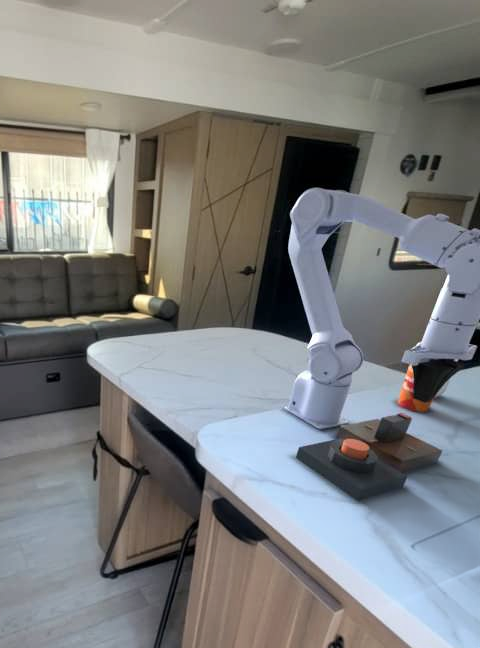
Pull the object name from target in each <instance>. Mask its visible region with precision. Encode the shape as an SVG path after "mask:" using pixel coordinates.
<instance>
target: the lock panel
mask: <svg viewBox="0 0 480 648" xmlns="http://www.w3.org/2000/svg"><path fill="white" fill-rule="evenodd" d="M380 421H381V419H379V418H374V419H369V420H363V421H359V422H354V423H348V424H346V425H341V426H339V428H338V431H337V434H336V439H339V438H342V439H344V440H346V439H355V440H359V441H362V442H364V443H366V444H367V445H368V446H369V448H370V450H372V451H373V452H374V453H375V454H376V455H377V456H378V459H379V460H380V461H382V462H384V463H385V464H387V465H389V466H391V467H392V468H394V469H396V470H398V471H399V472H401V473H403V472H406V471H410V470H415V469H417V468H423V467H425V466H429V465H433V464H436V463H438V461H439V459H440V457H441V455H442V453H443V450H442V449H440V448H438V447H436V446H434V445H432V444H430V443H428V442H426V441H424V440H422V439H420V438H418V437H416V436H414V435H411V434H410V433H408V432H406V434H405V437H404V438H402V439H397V440H393V441H388V442H383V441H381V440H379V439H377V438H376V437H375V434H376V431H377V429H378V426H379V424H380Z"/></svg>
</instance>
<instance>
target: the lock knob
mask: <svg viewBox="0 0 480 648" xmlns="http://www.w3.org/2000/svg"><path fill="white" fill-rule="evenodd" d="M380 420H381V421H380V424H379V426H378V429H377V431H376V434H375V437H376V438H377V439H379V440H381V441H383V442H388V441H393V440H397V439H402V438H404V437H405V434H406V433H408V430H409V427H410V425H411V422H412V421H413V418H412V416H409V415H408V414H405V413H403V412H399V413H397V414H392V415H387V416H383V417H381V419H380Z"/></svg>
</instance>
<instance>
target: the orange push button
mask: <svg viewBox="0 0 480 648" xmlns="http://www.w3.org/2000/svg"><path fill="white" fill-rule="evenodd" d="M369 449H370V448H369V446H368V445H367V444H366V443H364V442H362V441H359V440H355V439H346V440H344V442H343V445H342V448H341V452H342V453H344V454H345V455H347V456H350V457H353V458H356V459H365V458H366V457H367V454H368V451H369Z"/></svg>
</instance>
